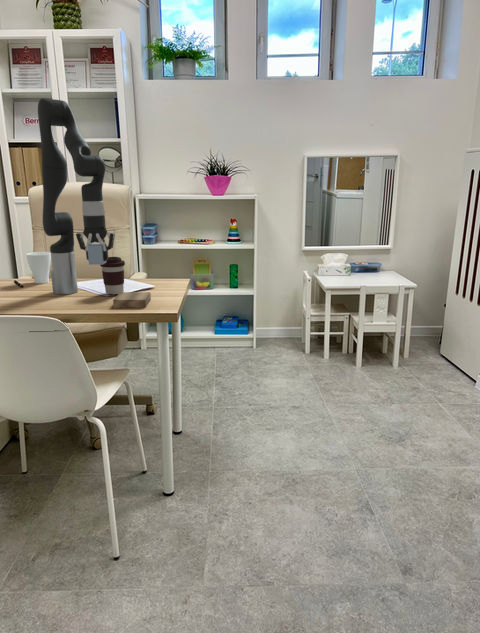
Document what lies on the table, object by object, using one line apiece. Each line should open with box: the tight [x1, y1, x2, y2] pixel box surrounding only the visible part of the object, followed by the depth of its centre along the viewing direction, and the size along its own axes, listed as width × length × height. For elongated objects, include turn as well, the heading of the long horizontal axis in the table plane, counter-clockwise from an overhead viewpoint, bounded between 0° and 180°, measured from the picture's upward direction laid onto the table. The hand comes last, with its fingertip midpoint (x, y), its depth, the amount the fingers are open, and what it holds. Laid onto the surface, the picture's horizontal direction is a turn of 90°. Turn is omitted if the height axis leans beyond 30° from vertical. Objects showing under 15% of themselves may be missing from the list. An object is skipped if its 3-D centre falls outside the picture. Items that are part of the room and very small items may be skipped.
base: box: [112, 291, 152, 309], centre depth 186 cm, size 12×12×3 cm
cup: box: [25, 251, 52, 285], centre depth 221 cm, size 10×10×14 cm
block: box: [87, 243, 106, 266], centre depth 176 cm, size 5×5×7 cm
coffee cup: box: [99, 256, 126, 295], centre depth 200 cm, size 10×10×15 cm
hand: (97, 260), depth 177 cm, fingers closed on block, 5 cm apart
